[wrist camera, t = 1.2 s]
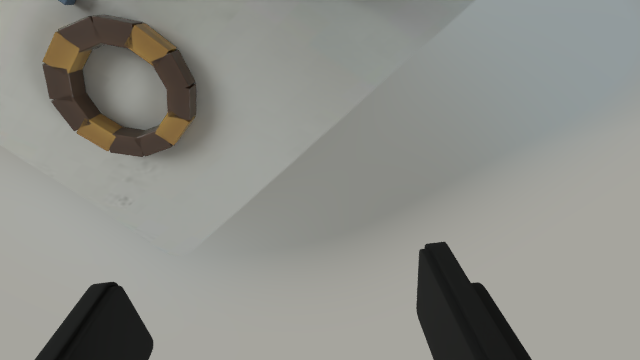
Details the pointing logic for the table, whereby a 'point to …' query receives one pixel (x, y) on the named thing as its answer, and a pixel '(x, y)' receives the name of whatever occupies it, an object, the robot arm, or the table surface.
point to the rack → (68, 2)
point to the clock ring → (79, 109)
